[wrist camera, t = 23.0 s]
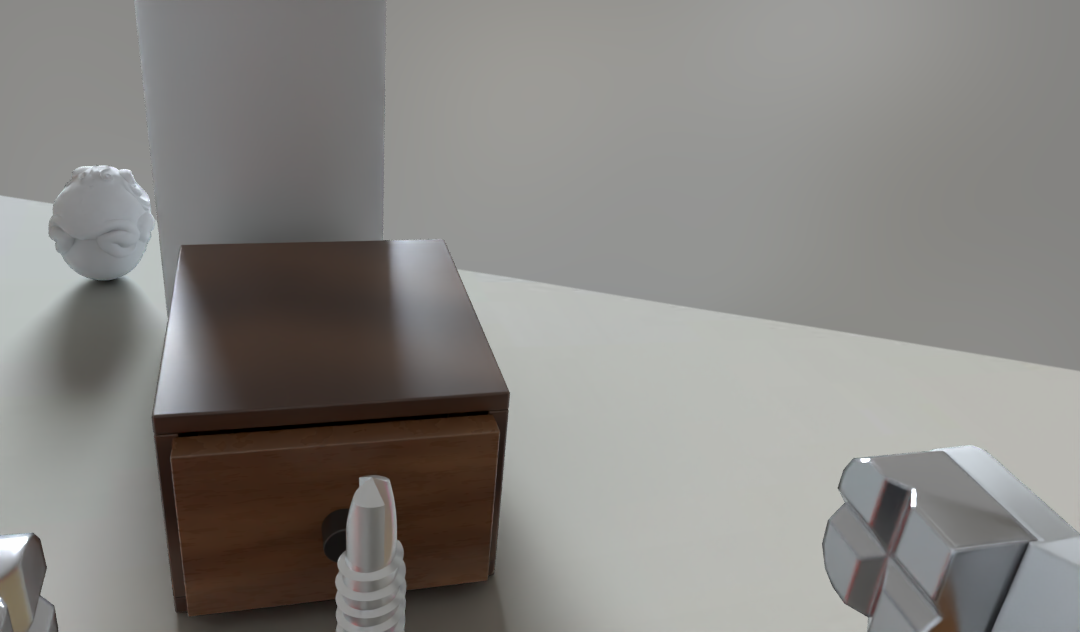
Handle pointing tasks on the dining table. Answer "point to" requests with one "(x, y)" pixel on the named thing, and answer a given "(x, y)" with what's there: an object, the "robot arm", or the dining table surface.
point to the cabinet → (318, 347)
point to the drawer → (328, 505)
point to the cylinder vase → (264, 120)
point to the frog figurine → (101, 222)
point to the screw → (371, 563)
